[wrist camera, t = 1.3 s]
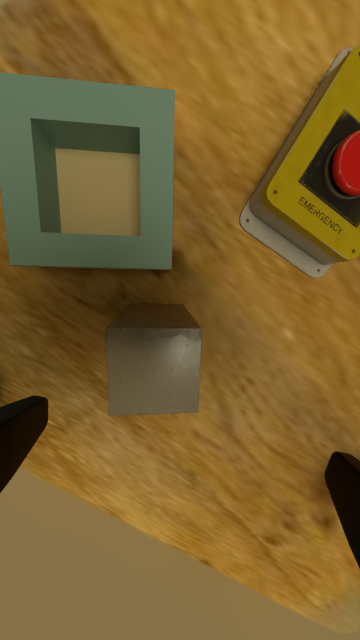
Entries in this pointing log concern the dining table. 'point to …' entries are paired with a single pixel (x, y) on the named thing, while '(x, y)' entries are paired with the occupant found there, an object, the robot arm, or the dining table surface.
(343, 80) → the emergency button
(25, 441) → the robot arm
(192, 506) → the dining table surface
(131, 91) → the socket block
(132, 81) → the dining table surface
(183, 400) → the grey rectangular block
